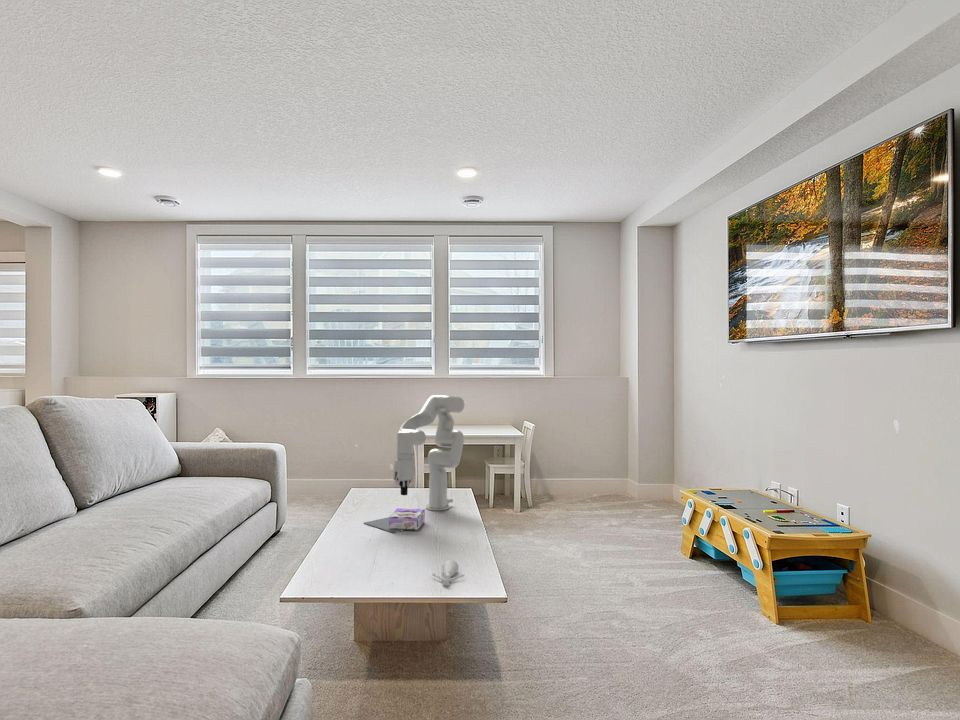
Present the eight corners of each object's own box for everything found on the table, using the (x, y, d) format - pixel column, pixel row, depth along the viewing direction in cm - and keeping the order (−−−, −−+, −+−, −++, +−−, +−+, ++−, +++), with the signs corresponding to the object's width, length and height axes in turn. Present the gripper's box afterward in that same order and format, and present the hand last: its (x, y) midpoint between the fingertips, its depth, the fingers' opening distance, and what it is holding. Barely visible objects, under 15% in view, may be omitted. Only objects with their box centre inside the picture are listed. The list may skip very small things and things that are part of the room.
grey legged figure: (466, 557, 218) (462, 578, 201) (466, 569, 219) (462, 591, 201) (435, 557, 219) (428, 577, 201) (435, 568, 219) (428, 590, 201)
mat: (391, 517, 293) (391, 516, 293) (420, 526, 278) (420, 525, 278) (363, 523, 280) (363, 522, 280) (392, 533, 265) (392, 531, 265)
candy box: (425, 509, 285) (418, 517, 268) (424, 521, 285) (418, 530, 268) (397, 507, 286) (388, 516, 270) (396, 520, 286) (388, 529, 270)
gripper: (411, 454, 293) (410, 491, 292) (387, 457, 282) (386, 495, 281) (421, 456, 287) (420, 493, 287) (397, 459, 277) (396, 498, 276)
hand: (404, 494), depth 284 cm, fingers closed
